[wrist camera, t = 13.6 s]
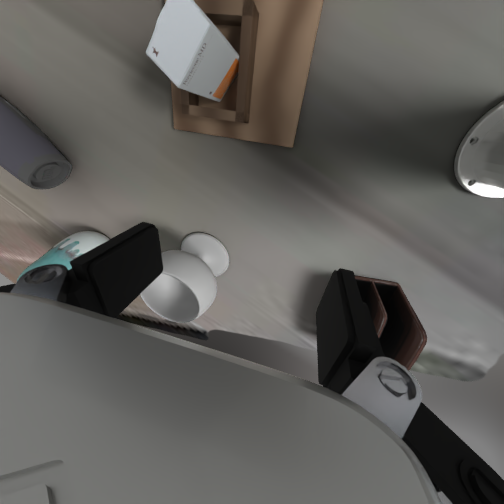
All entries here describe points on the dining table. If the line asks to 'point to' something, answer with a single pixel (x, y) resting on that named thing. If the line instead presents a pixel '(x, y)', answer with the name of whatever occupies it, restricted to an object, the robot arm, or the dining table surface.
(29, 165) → the bluetooth speaker
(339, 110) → the dining table surface
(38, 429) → the robot arm
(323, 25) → the dining table surface
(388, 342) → the letter holder
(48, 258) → the vase
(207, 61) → the skincare box
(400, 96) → the dining table surface
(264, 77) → the box stand
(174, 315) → the chalice
